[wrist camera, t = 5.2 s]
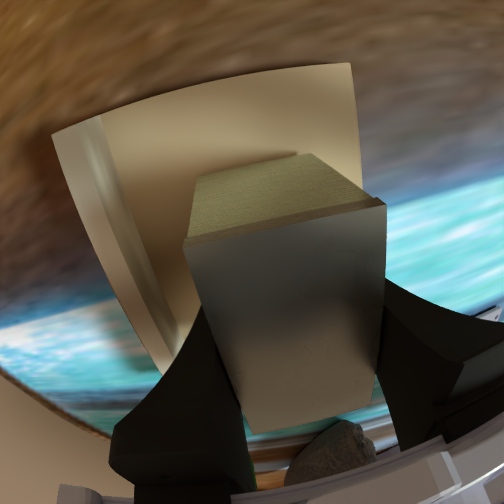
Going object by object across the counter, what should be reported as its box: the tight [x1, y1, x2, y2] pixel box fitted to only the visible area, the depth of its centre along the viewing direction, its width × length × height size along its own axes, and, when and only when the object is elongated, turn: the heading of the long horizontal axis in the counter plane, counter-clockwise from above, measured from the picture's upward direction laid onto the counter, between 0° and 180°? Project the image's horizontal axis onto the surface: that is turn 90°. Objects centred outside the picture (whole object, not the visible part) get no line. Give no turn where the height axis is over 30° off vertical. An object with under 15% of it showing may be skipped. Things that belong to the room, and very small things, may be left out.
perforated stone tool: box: [284, 420, 379, 487], centre depth 26 cm, size 15×5×7 cm, turn 155°
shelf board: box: [51, 63, 362, 376], centre depth 14 cm, size 16×11×4 cm
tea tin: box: [183, 153, 387, 435], centre depth 11 cm, size 8×5×6 cm, turn 10°
